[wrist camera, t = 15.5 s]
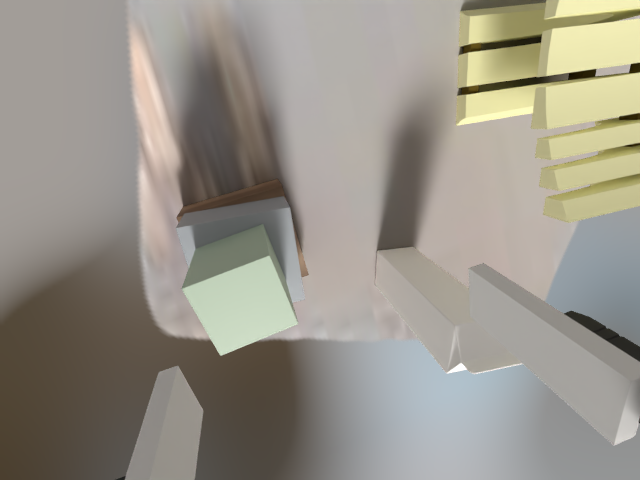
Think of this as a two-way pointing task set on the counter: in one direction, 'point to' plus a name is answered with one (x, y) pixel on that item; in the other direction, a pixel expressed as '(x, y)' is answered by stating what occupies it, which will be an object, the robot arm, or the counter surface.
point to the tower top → (241, 217)
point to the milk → (438, 312)
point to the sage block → (239, 290)
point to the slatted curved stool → (563, 93)
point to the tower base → (244, 196)
